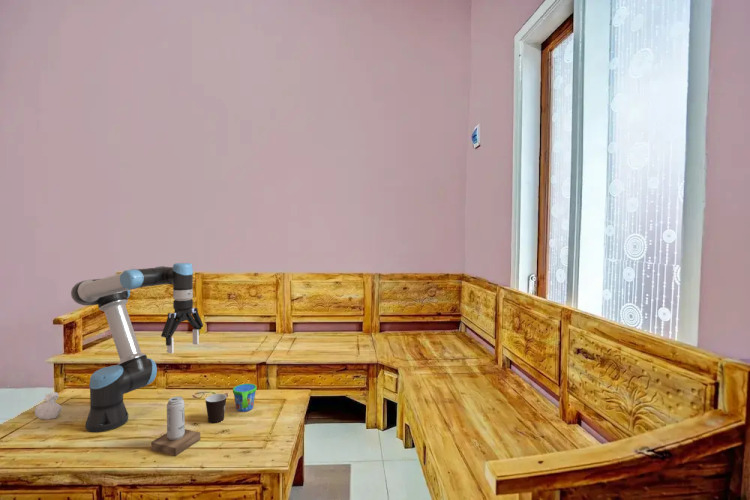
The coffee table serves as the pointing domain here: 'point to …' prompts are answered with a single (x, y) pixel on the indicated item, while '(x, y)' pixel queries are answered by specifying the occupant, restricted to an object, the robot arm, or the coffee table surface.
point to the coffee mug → (215, 407)
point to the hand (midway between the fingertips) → (183, 348)
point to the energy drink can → (175, 418)
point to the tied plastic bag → (48, 407)
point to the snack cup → (244, 396)
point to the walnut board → (175, 443)
